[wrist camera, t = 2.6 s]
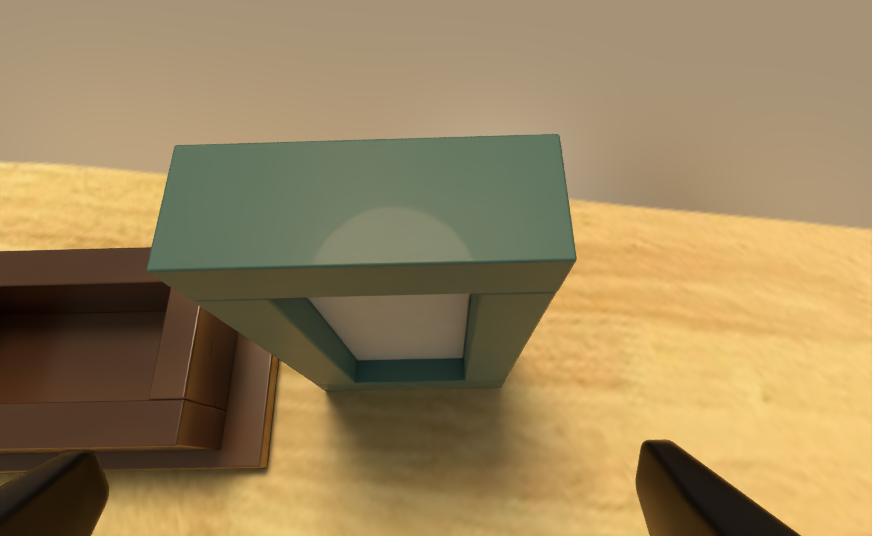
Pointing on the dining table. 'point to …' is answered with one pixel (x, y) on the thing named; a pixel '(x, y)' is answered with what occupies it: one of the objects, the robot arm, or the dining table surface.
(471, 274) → the picture frame
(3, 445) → the frame holder
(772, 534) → the robot arm
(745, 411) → the dining table surface
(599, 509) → the dining table surface
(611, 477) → the dining table surface
